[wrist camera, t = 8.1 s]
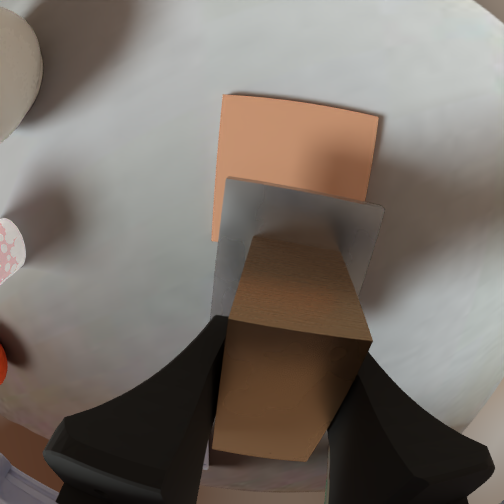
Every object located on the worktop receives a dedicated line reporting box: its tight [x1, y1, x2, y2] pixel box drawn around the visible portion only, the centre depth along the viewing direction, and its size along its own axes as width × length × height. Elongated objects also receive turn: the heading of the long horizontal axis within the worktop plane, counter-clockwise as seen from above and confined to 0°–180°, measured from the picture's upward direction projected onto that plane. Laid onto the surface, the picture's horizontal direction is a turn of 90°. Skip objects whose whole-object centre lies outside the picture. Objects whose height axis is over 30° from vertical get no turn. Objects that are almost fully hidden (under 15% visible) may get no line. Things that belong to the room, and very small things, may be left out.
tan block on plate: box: [210, 176, 385, 462], centre depth 11 cm, size 10×6×6 cm, turn 171°
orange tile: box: [211, 95, 379, 242], centre depth 16 cm, size 1×8×8 cm
